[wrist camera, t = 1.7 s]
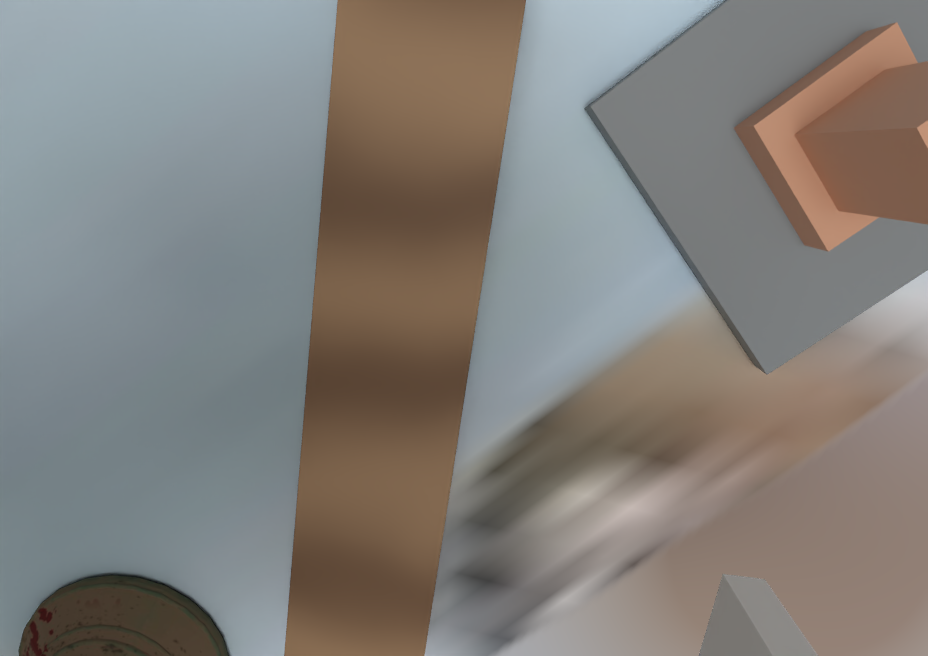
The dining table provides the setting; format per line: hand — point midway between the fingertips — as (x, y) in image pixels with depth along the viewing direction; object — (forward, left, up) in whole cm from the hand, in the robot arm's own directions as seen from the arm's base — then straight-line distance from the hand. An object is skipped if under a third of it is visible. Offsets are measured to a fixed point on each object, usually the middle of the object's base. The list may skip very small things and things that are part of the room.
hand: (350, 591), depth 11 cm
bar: (0, 0, -14) cm, 14 cm away
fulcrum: (+13, +11, -14) cm, 22 cm away
